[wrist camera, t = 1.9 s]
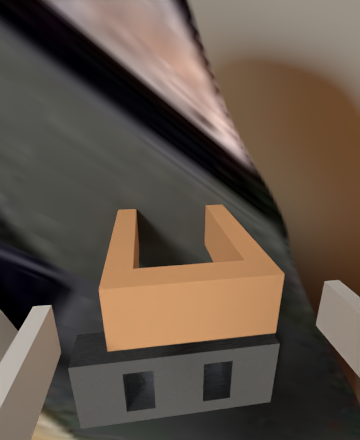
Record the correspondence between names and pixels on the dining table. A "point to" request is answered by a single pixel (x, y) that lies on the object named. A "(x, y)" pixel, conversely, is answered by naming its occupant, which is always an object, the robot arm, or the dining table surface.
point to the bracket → (6, 334)
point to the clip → (188, 289)
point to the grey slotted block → (169, 378)
